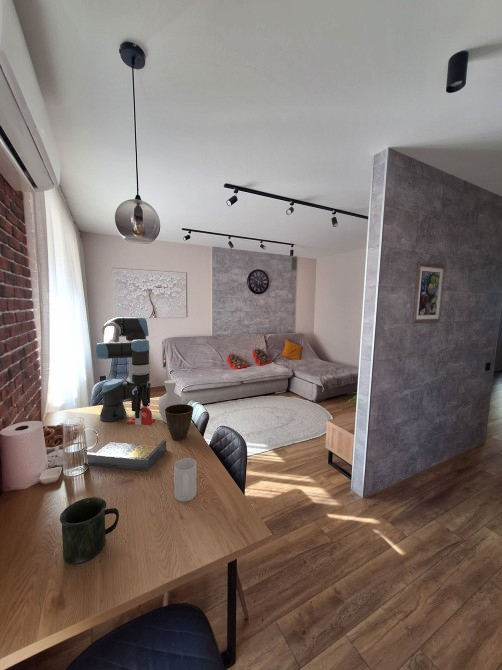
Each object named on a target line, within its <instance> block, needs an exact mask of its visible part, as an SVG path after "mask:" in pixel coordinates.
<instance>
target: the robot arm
mask: <svg viewBox="0 0 502 670" xmlns="http://www.w3.org/2000/svg"><path fill="white" fill-rule="evenodd" d="M148 327H149V326H148V322H147V319H146V318H145V317H138V316H137V317H136V316H135V317H133V316H131V317H130V316H129V317H125V316H124V317H121V316H120V317H114V318H112V319H110V320H108V321H107V322H105V323H104V325H103V326H102V328H101V329H102V330H101V332H102V335H103V337H102V342H98V343H96V345H95V356H96V359H99V360H102V359H103V360H109V359H110V360H111V359H123V358H124V359H125V358H126V359H127V358H128V377H127V378H126V381H123V379H118V378H117V379H112V380H109V381H106V382H104V383H103V384H102V386H101V387H102V388H101V389H102V390H101V393H102V408H101V411H100V414H99V420H100V421H102V422H105V423H106V422H115V421H120V420H123V419H125V418H126V417H127V410H126V407H125V405H124V401H128V400H129V401H130V400H131V401H130V402H131V412H134V418H135V424H134V425H137V426H138V425H139V426H142V425H141V424H142V415H143V417H147V414H146V413H145V412H143V413H142V411H141V410H140V409H141V408H143V407H147V408H148V407H150V406H151V404H150V403H151V383H150V381H151V380H150V347H151V346H150V341H149V340H148V339H147V337H149V328H148ZM120 337H125V340H126V341H123V342H122V341H121V342H120Z"/></svg>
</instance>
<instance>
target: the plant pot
mask: <svg viewBox="0 0 502 670" xmlns="http://www.w3.org/2000/svg"><path fill="white" fill-rule="evenodd" d="M193 413H194V406H192V405H190V404H184V403H182V404H177V405H172V406H169V407H167V408H166V409H165V415H166V421H167V423H166V425H167V427H168V431H169V433H170V436H171V439H172V440H173V441H182V440H185V439H186V437H187V435H188V433H189V430H190V426H191V424H192V420H193Z"/></svg>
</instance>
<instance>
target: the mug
mask: <svg viewBox="0 0 502 670" xmlns="http://www.w3.org/2000/svg"><path fill="white" fill-rule="evenodd" d="M110 514H111V515H112V514H114V515H115V516H116V517H115V519H114V521H113V524H111V526H109V527H107V528H106V515H110ZM119 518H120V511H119V509H118V508H116V507H110V508H107V502H106V500H105V499H104V498H102V497H100V496H99V497H98V496H91V497H85V498H82V499H79V500H76V501H74V502H73V503H71V504H70V505H68V506H67V507H66V508H65V509H63V511H62V512H61V513H60V516H59V523H60V524H61V536H62V537H61V538H62V556H63V559H64V561H65V562H67V563H68V564H74V565H76V564H82V563H85V562H87V561H89V560H91V559H93V558H94V557H96V556H97V555H98V554H99V553H100V552H101V550H102V549H103V548H104V546H105V545H106V541H107V539H106V535H108V534H110V533H111V532H113V531H114V530H115V529H116V527H117V526H118V523H119V520H120V519H119Z"/></svg>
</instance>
